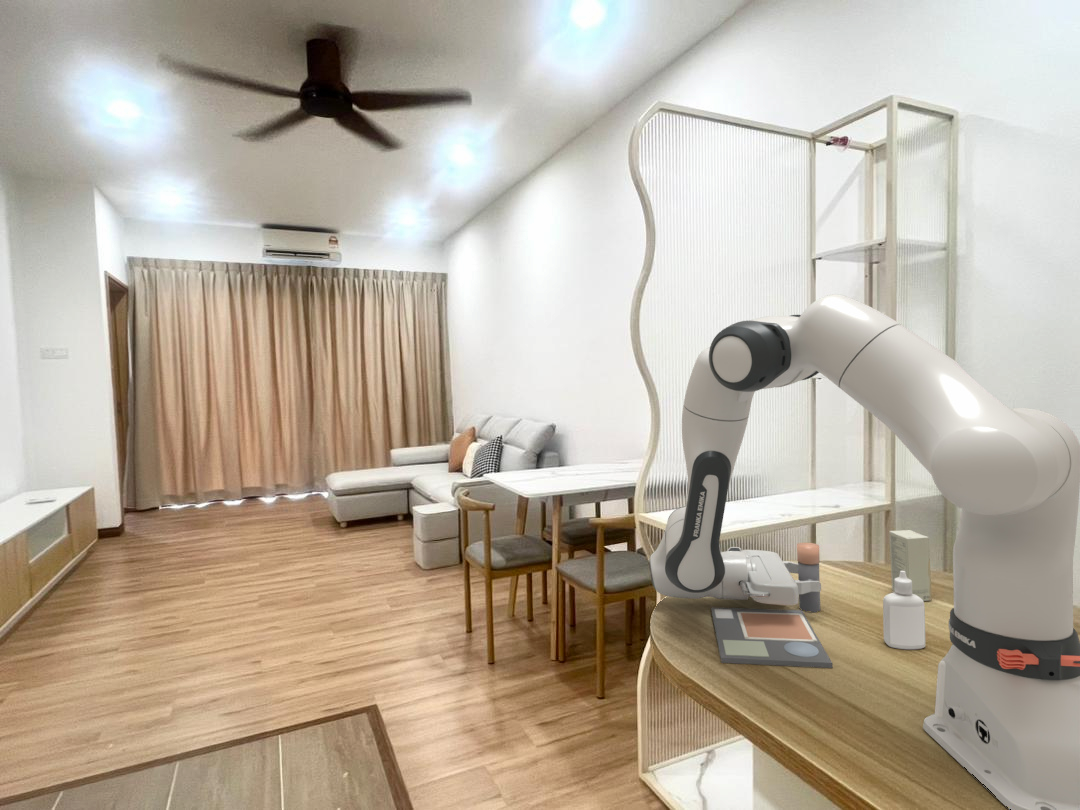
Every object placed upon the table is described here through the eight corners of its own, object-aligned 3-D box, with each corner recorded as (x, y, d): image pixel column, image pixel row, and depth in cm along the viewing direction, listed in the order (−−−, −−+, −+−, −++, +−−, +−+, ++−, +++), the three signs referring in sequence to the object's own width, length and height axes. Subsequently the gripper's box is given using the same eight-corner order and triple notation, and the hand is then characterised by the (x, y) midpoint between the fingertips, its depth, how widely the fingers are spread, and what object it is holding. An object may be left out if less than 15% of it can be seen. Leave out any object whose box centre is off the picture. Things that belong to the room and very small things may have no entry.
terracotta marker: (823, 612, 108) (821, 548, 108) (801, 612, 109) (799, 548, 109) (818, 604, 112) (816, 542, 112) (796, 604, 113) (794, 542, 112)
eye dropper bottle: (923, 655, 91) (922, 578, 91) (882, 646, 95) (880, 572, 94) (926, 644, 95) (925, 570, 94) (886, 635, 98) (884, 564, 98)
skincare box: (932, 601, 111) (931, 537, 111) (908, 602, 111) (907, 538, 111) (912, 589, 117) (911, 529, 117) (889, 590, 118) (888, 530, 117)
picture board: (832, 668, 89) (832, 662, 89) (721, 662, 92) (721, 656, 92) (802, 614, 108) (801, 609, 108) (711, 611, 112) (711, 606, 111)
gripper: (742, 577, 103) (828, 579, 100) (730, 544, 123) (801, 545, 120) (744, 613, 103) (829, 616, 100) (731, 574, 123) (802, 575, 120)
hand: (814, 577), depth 110 cm, fingers open, 7 cm apart
